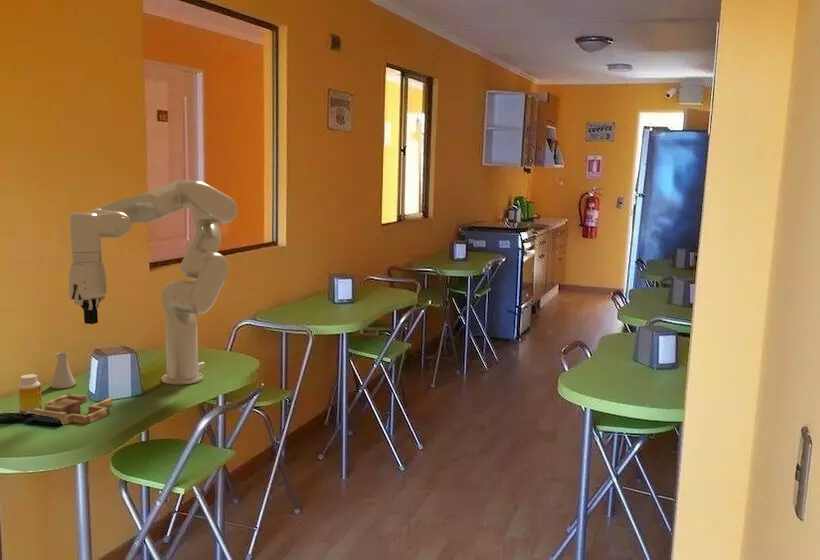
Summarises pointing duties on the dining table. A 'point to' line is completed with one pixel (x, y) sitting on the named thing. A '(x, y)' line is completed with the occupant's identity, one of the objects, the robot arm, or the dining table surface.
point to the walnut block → (65, 406)
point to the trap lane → (95, 410)
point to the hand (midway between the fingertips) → (91, 323)
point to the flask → (62, 373)
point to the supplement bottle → (29, 394)
